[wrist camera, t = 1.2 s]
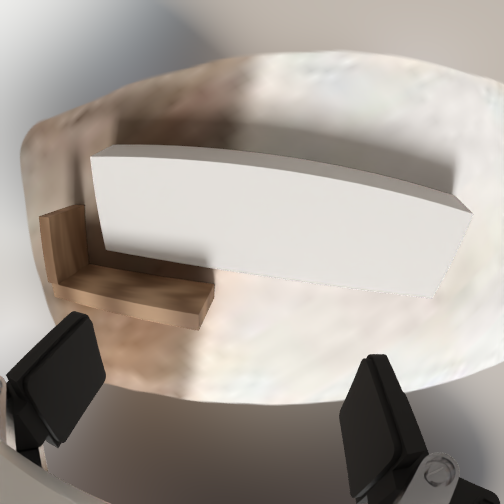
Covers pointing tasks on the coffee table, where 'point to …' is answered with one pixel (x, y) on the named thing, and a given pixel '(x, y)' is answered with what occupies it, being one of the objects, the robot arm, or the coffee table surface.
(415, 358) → the coffee table surface
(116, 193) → the decorative molding
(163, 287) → the wooden corner bracket
